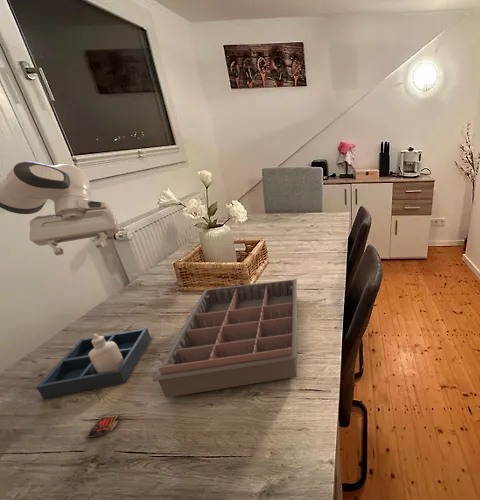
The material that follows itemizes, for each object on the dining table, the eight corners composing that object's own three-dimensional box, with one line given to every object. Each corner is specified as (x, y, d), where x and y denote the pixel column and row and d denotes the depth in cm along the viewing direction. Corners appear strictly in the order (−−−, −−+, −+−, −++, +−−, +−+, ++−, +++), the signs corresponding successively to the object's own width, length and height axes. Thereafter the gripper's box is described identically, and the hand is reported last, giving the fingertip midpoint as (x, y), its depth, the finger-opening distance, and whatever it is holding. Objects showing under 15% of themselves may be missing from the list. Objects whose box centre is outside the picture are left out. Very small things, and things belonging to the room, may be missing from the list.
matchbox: (86, 440, 58) (85, 438, 58) (97, 418, 63) (97, 416, 63) (113, 432, 60) (112, 430, 60) (122, 411, 64) (121, 410, 64)
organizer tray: (299, 297, 107) (296, 274, 103) (300, 382, 70) (296, 352, 66) (210, 307, 102) (203, 284, 98) (162, 405, 66) (148, 374, 62)
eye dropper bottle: (124, 371, 75) (107, 335, 70) (97, 380, 72) (78, 343, 67) (127, 360, 78) (111, 326, 73) (101, 368, 76) (83, 333, 71)
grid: (43, 399, 68) (35, 387, 67) (86, 349, 84) (80, 339, 82) (125, 383, 72) (119, 371, 70) (151, 338, 88) (147, 328, 86)
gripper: (22, 211, 80) (24, 254, 76) (111, 201, 90) (117, 238, 86) (36, 222, 86) (38, 263, 82) (118, 211, 95) (124, 247, 91)
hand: (79, 250), depth 84 cm, fingers open, 8 cm apart
